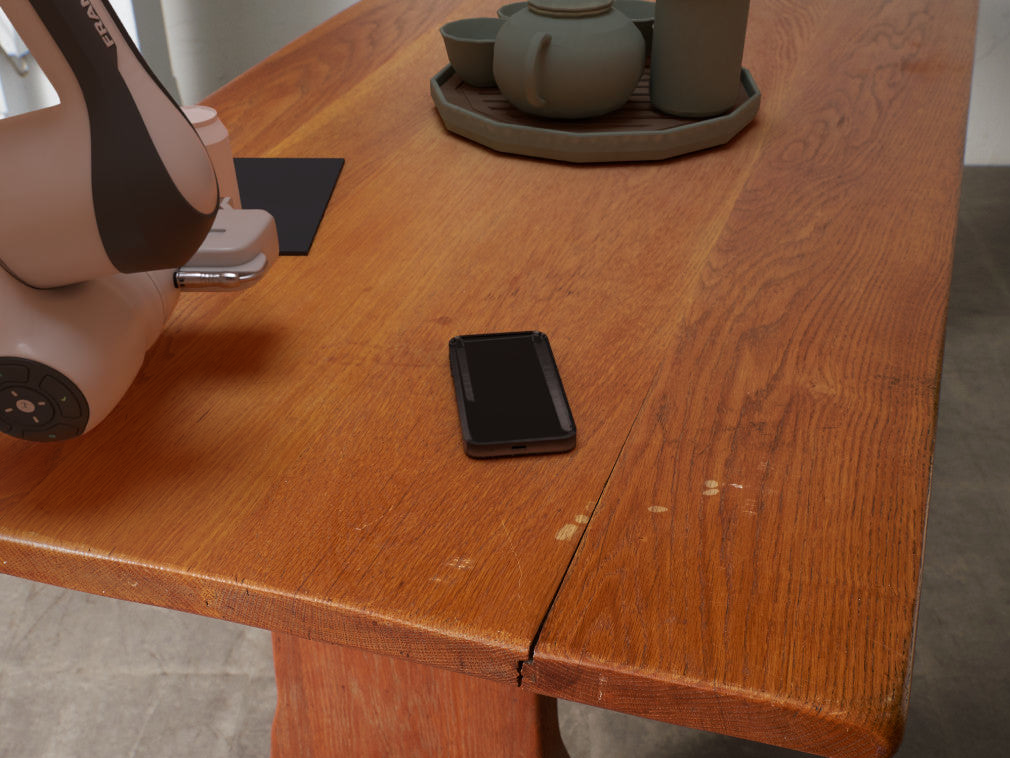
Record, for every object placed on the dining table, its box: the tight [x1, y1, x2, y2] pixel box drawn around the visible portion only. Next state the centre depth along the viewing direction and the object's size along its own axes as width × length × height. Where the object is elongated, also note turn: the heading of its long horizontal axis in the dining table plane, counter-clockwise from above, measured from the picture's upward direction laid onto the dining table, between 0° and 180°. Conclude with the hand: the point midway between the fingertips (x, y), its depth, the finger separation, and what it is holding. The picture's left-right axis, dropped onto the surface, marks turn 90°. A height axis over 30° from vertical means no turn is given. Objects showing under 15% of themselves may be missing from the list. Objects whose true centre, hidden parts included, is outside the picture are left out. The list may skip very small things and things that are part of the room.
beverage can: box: [179, 104, 242, 210], centre depth 90 cm, size 6×6×12 cm
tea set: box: [429, 0, 762, 164], centre depth 120 cm, size 40×40×16 cm
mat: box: [233, 157, 346, 256], centre depth 102 cm, size 18×24×1 cm
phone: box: [448, 330, 578, 459], centre depth 74 cm, size 8×1×15 cm
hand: (167, 205), depth 82 cm, fingers open, 8 cm apart
